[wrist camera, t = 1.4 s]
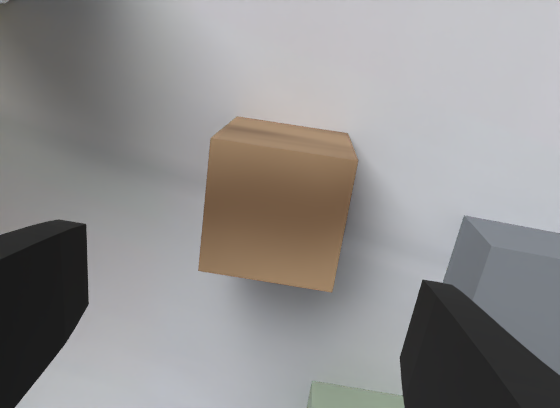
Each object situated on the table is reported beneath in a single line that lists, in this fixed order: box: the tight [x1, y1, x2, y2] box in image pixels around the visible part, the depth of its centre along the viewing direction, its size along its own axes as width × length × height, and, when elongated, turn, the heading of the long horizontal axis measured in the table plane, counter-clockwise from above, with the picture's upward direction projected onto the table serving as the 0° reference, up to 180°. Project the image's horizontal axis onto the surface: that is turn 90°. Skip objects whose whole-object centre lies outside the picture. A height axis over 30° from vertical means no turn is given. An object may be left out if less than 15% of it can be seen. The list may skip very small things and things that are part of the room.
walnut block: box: [198, 117, 358, 292], centre depth 17 cm, size 4×4×5 cm
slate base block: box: [443, 216, 560, 375], centre depth 19 cm, size 7×7×4 cm
